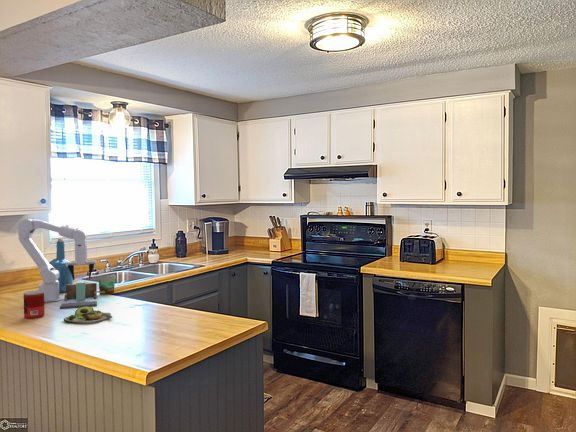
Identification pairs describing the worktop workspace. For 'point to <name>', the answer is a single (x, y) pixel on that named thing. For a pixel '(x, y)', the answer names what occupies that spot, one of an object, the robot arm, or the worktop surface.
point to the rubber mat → (78, 304)
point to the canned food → (33, 304)
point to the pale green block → (80, 290)
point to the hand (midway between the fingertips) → (81, 279)
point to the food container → (107, 284)
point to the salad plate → (87, 316)
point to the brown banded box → (89, 290)
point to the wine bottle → (62, 267)
